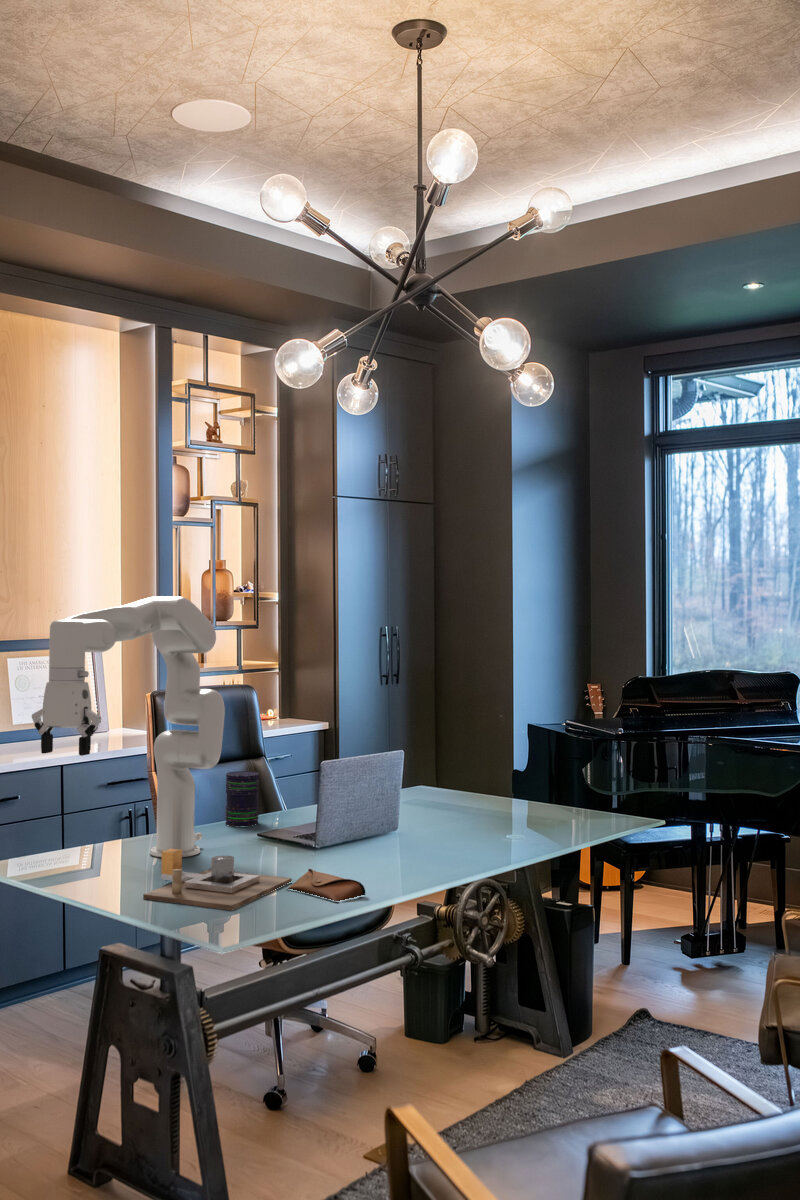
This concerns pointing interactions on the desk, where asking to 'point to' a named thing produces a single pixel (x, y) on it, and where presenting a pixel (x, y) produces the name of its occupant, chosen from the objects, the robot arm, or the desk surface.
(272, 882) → the base board
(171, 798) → the robot arm
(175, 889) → the dowel
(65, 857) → the desk surface
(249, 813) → the storage jar
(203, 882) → the square frame with handle
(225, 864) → the post
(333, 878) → the sunglasses case
